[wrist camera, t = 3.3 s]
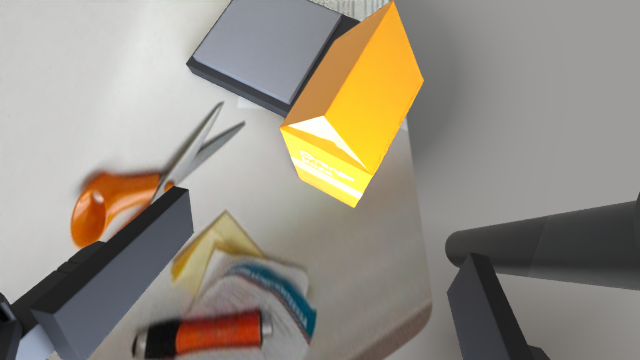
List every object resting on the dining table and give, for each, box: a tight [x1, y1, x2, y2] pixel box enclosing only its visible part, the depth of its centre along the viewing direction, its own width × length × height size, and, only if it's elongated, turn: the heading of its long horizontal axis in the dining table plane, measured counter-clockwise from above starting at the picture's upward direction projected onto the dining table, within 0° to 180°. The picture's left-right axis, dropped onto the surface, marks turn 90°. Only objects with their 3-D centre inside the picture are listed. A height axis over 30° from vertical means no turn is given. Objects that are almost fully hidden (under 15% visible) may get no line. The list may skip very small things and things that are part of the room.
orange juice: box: [280, 0, 424, 207], centre depth 26 cm, size 8×9×20 cm
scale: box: [186, 0, 361, 118], centre depth 38 cm, size 18×16×3 cm
